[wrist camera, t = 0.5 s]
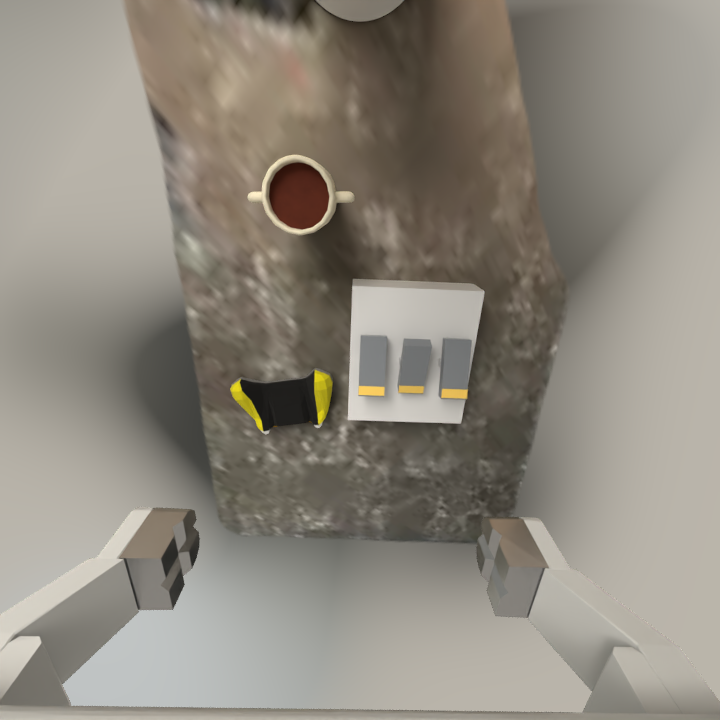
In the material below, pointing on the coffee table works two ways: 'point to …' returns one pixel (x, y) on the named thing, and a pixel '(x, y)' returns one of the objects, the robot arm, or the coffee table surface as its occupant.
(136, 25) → the coffee table surface
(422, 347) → the block
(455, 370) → the block
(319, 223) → the character mug
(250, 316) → the coffee table surface
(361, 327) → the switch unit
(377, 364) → the block
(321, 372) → the gaming controller
